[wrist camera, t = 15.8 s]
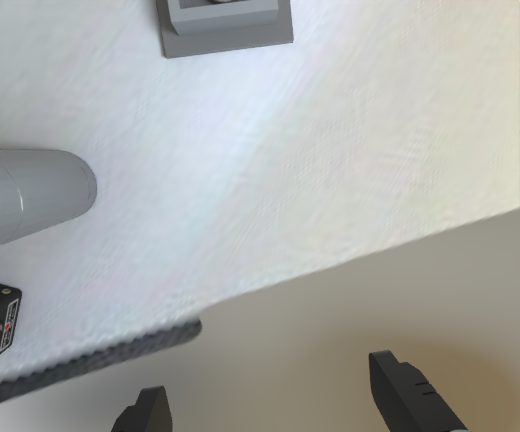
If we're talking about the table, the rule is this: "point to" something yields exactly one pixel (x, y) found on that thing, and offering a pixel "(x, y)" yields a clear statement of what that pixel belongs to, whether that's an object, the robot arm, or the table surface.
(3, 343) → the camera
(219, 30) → the mug dock
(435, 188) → the table surface
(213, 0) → the travel mug
